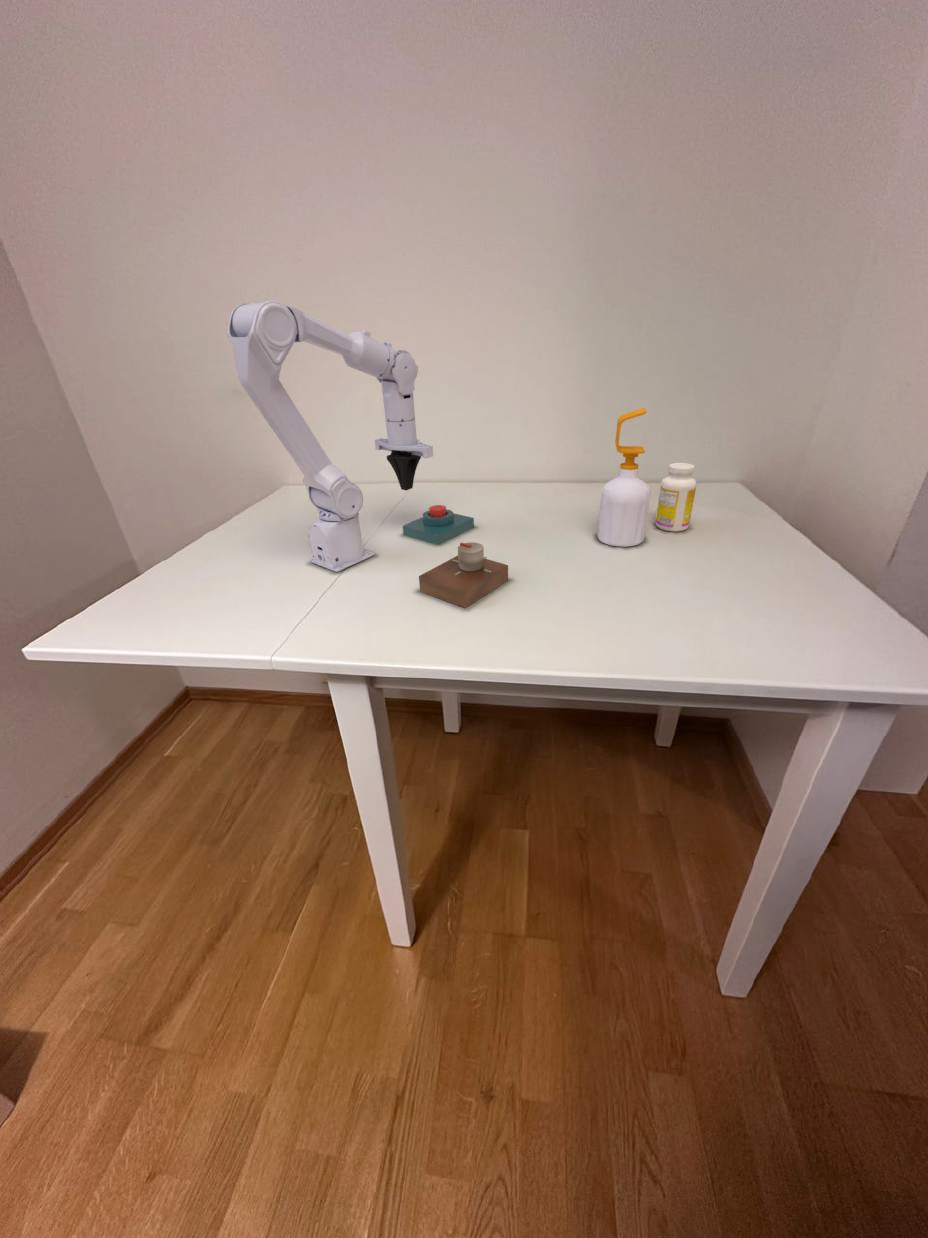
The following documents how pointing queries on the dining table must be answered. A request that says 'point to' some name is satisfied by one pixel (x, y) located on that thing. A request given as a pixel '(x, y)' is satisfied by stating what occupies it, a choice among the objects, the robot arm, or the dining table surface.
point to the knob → (470, 556)
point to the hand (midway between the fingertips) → (407, 488)
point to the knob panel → (463, 581)
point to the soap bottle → (624, 498)
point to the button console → (438, 527)
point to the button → (437, 511)
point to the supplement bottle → (676, 498)
